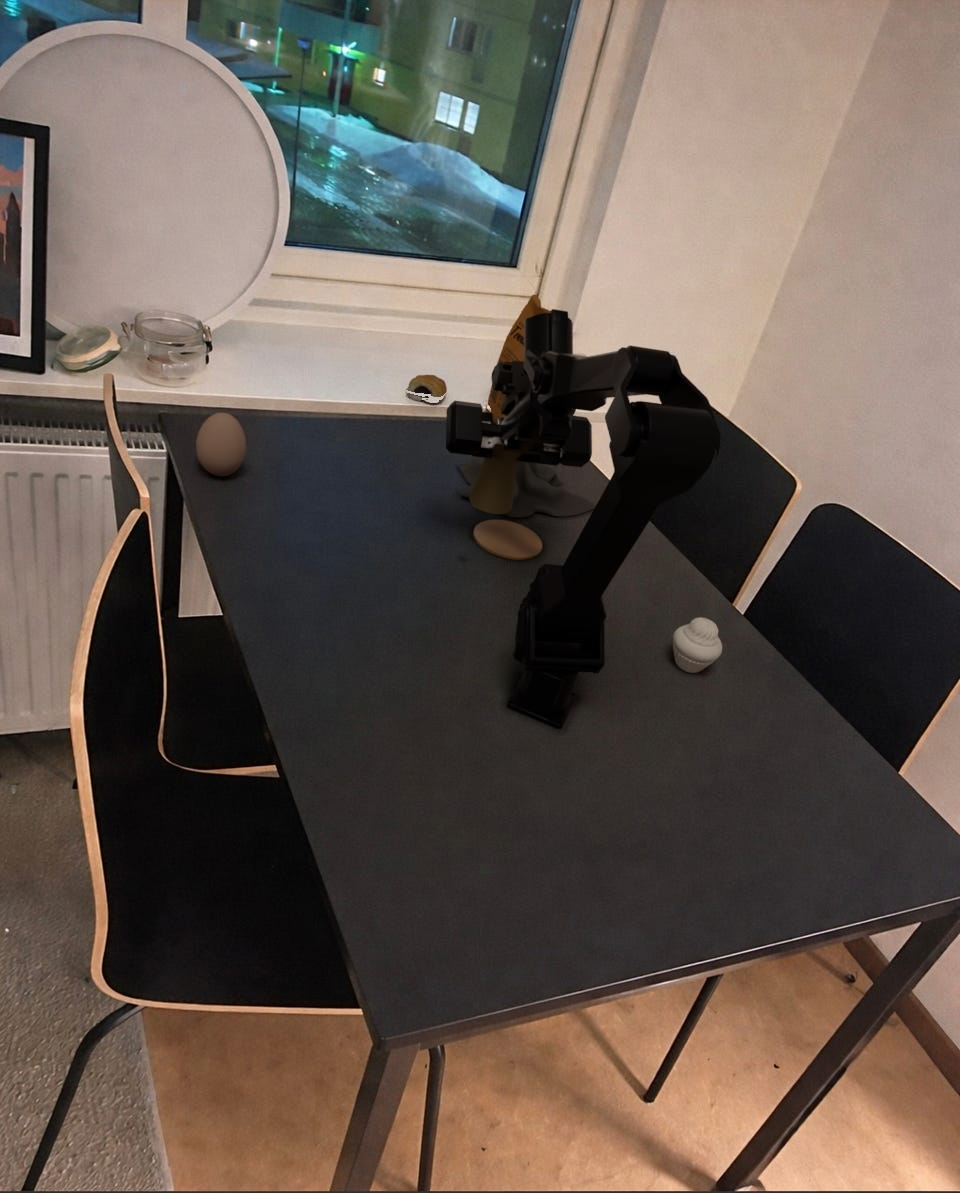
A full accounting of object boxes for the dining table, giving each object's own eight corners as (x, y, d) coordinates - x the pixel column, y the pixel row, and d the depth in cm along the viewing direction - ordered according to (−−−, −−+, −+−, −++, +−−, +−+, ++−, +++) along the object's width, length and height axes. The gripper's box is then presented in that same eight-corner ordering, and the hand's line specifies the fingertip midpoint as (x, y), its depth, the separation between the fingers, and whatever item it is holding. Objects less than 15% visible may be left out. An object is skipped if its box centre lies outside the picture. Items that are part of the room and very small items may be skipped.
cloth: (465, 513, 133) (473, 476, 129) (446, 455, 147) (454, 421, 144) (606, 528, 138) (617, 492, 135) (574, 470, 153) (585, 437, 150)
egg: (194, 461, 128) (197, 401, 123) (242, 464, 130) (247, 405, 125) (195, 484, 123) (198, 422, 118) (245, 487, 125) (250, 426, 120)
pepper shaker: (461, 493, 125) (477, 420, 119) (497, 490, 128) (515, 419, 122) (483, 516, 121) (502, 441, 115) (520, 511, 124) (540, 439, 118)
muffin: (682, 684, 109) (702, 638, 105) (654, 652, 114) (672, 607, 110) (721, 677, 112) (742, 633, 108) (692, 647, 116) (712, 603, 113)
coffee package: (525, 409, 171) (556, 293, 159) (552, 439, 162) (586, 319, 150) (477, 406, 167) (504, 287, 155) (502, 437, 158) (533, 313, 146)
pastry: (418, 381, 171) (422, 362, 169) (452, 392, 170) (456, 373, 168) (403, 397, 163) (406, 377, 161) (438, 408, 163) (442, 388, 160)
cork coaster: (529, 568, 124) (530, 565, 124) (462, 542, 126) (463, 540, 125) (550, 538, 132) (550, 536, 132) (487, 514, 134) (488, 512, 134)
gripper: (610, 360, 112) (563, 407, 126) (465, 339, 106) (433, 390, 121) (612, 447, 110) (564, 484, 124) (463, 429, 104) (431, 470, 119)
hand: (499, 455), depth 122 cm, fingers closed on pepper shaker, 5 cm apart
